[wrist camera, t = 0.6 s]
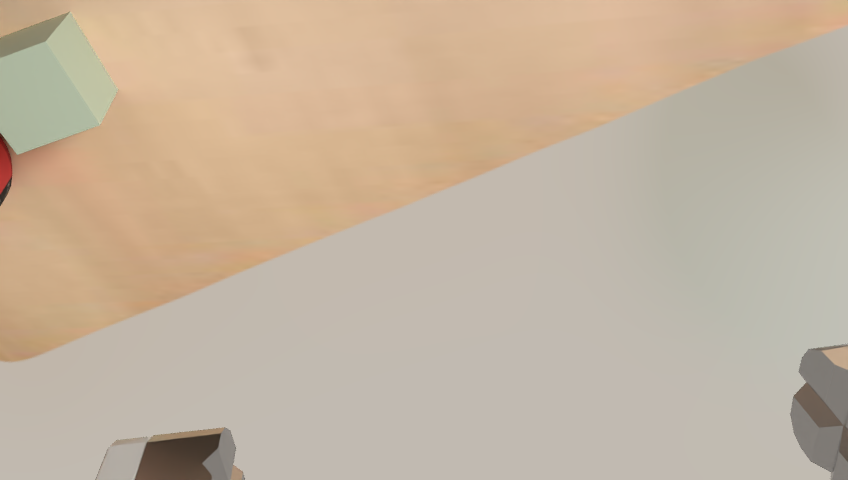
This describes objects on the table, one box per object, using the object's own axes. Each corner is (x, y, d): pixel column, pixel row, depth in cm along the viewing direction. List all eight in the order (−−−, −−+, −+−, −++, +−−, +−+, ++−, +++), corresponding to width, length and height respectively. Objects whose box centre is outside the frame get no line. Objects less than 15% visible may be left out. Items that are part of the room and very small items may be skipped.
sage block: (-10, 40, 41) (-44, 74, 37) (70, 11, 40) (45, 41, 36) (43, 116, 44) (17, 154, 40) (118, 89, 43) (100, 124, 39)
